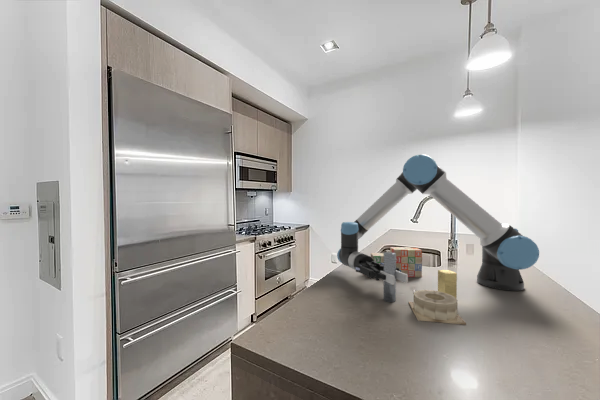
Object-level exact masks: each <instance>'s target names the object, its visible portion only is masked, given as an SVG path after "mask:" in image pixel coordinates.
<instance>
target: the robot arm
mask: <svg viewBox="0 0 600 400" xmlns="http://www.w3.org/2000/svg"><path fill="white" fill-rule="evenodd" d="M417 190H418V192H420V193H421V194H422V195H429V196H430V197H432V198H433V199H434V200H435V201H436V202H437V203H439V205H440V206H442V207H443V208H444V209H445V210H447V211H448V212H449V213H450V214H451V215H452V216H453V217H455V218H456V219H457V220H458V221H459V222H460V223H462V225H464V227H466V228H467V229H468V230H469V231H470V232H472V233H473V234H474V235H475V237H478V239H479V241H480V242H479V244H480V246H481V255H482V256H481V265H480V268H479V270H478V273H477V275H476V282H477V283H478V284H480V285H482V286H484V287H488V288H492V289H496V290H503V291H511V292H512V291H513V292H514V291H515V292H516V291H523V290H524V289H525V282H524V281H525V280H523V276H522V274H521V272H520V270H526V269H529V268H531V267H533V266H534V265H535V264H536V263H537V261H538V260H539V257H540V249H539V247H538V245H537V243H536V242H535V241H534V240H532V239H531V238H529V237H527V236H525V235H523V234H522V233H520V232H519V230H518V228H515V227H513V226H511V225H510V224H509V223H501V222H500V221H498V220H497V219H496V218H495V217H494V216H493V215H491V214H490V213H489V212H487V211H486V210H485V209H484V208H483V207H481V206H480V205H479V204H478V203H477V202H475V201H474V200H473V198H471V197H469V196H468V195H467V194H466V193H465V192H464V191H462V190H461V189H460V188H459V187H458V186H456V185H455V184H454V183H453V182H452V181H450V180H449V179H448V178H447V172H446V171H445V170H444V169H443V168H442V167H440V165H438V164H437V163H436V161H435V160H434V158H432V157H431V156H429V155H427V154H416V155H413V156H411V157H410V158H408V159H407V160H406V161H405V163H404V165H403V167H402V172H401V173H400V175H399V176H398V177H397V178H396V179H395V183H393V184H392V185H391V186H390V187H389V188H388V189H387V190H386V191H385V192H384V193H383V194H382V195H381V196H380V197H379V198H378V199H377V200H376V201H374V202H373V203H372V204H371V206H369V207H368V208H367V209H366V210H365V211H364V212H363V213H361V215H360V216H359V217H358V218H357V219H355V221H344V222H342V223H341V227H340V235H341V236H340V248H339V250H338V251H337V254H336V257H337V260H338V262H340V263H341V264H342V265H344V266H347V267H349V268H350V269H352V270H355V272H356V273H360V274H362V275H363V276H365V277H368V278H370V279H374V278H375V281H378V282H379V281H380V280H382V281H383V280H384V281H386V282H388V283H390V284H392V285H395V276H393V275H391V274H388V273H386V272H384V262H383V263H382V264H380V263H377V262H375V261H374V260H373V259H372V257H371V255H368V254H365V253H364V252H359V239H362V237H363V236H364V235H365V234H366V233H367V232H368V231H369V230H370V229H372V228H373V227H374V226H375V225H376V224H377V223H378V222H379V221H381V219H382V218H384V216H386V215H387V214H388V213H389V212H390V211H392V209H394V207H396V206H397V205H398V204H399V203H401V201H402V200H403V199H405V197H407V196H408V195H412V194H413V193H414V192H416V191H417ZM396 280H398V281H400V282H403V283H405V284H408V282H409V277H408V275H407V274H405V273H402V272H400V271H399V268H397V267H396Z"/></svg>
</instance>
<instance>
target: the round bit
mask: <svg viewBox="0 0 600 400" xmlns="http://www.w3.org/2000/svg"><path fill="white" fill-rule="evenodd" d="M383 253H384V272H386V273H388V274H391V275H393V276H395V285H392V284H390V283H388V282H386V281H384V280H382V281H383V283H382V284H383V291H382V292H383V295H382V297H383V301H384V302H387V303H395V302H397V301H396V299H397V297H396V296H397V292H396V291H397V279H396V253H393V252H390V251H384V252H383Z"/></svg>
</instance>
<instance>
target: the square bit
mask: <svg viewBox="0 0 600 400" xmlns="http://www.w3.org/2000/svg"><path fill="white" fill-rule="evenodd" d="M457 279H458V278H457V272H455V271H452V270H450V269H437V291H439V292H444V293H447V294H449V295H452V296H454V297H455V298H456V299H457V295H458V294H457V293H458V292H457V289H458V288H457V286H458V285H457V282H458V281H457ZM457 300H458V299H457Z"/></svg>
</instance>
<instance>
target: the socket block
mask: <svg viewBox="0 0 600 400" xmlns="http://www.w3.org/2000/svg"><path fill="white" fill-rule="evenodd" d="M408 304H409V306H410V309H411V310H412V312H413V314H414V316H415V318H416V319H417V321H419V322H420V321H421V322H432V323H441V324H442V323H443V324H453V325H463V326H467V322H466V321H465V320H464V319H463V318H462V316H460V315H459V313H458V299H456V298H455V297H454V296H452V295H449V294H447V293H444V292H439V291H438V290H433V289H431V290H430V289H419V290H416V291H415V292H413V301H408Z"/></svg>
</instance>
